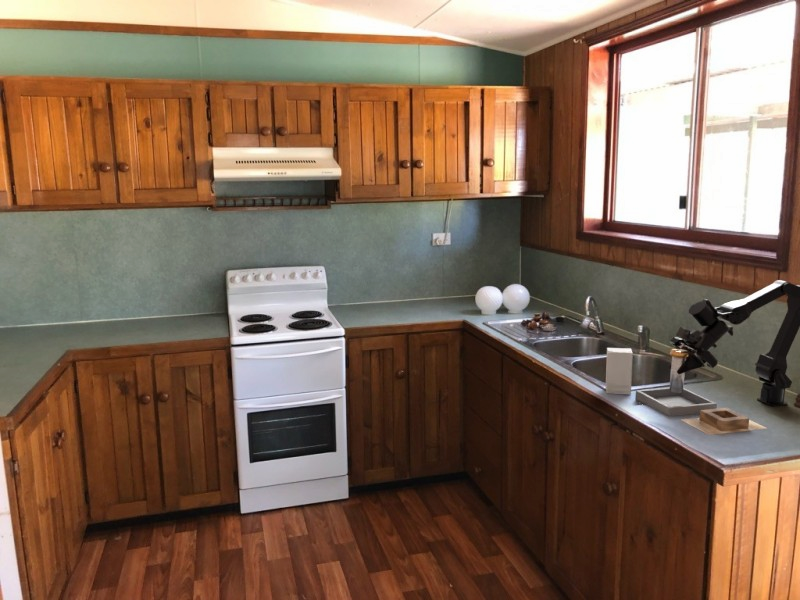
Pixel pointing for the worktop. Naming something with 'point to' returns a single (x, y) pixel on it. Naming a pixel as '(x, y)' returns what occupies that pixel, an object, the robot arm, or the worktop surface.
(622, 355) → the skincare box
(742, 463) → the worktop surface
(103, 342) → the worktop surface
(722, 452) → the worktop surface
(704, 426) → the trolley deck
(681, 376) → the pin
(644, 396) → the tray
